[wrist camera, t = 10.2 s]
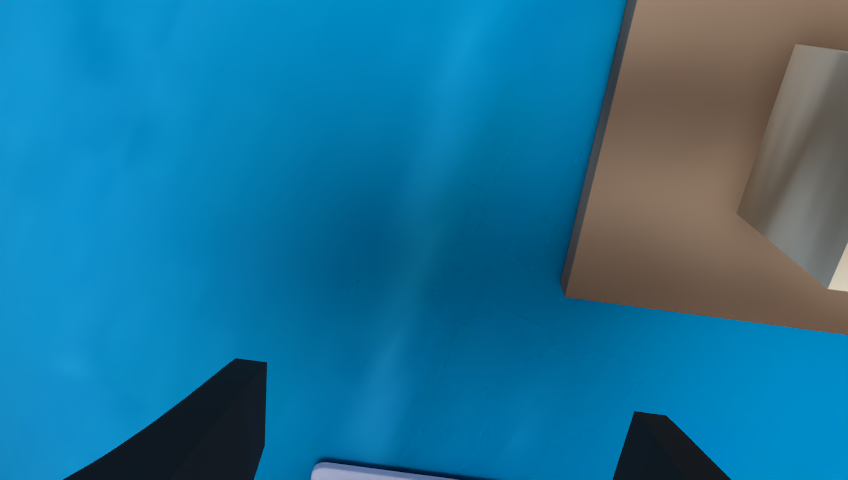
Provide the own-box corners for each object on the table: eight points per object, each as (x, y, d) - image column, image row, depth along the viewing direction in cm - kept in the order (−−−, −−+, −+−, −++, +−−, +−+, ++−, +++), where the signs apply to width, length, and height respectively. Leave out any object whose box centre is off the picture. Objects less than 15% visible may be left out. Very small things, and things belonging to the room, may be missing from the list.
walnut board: (963, 337, 21) (986, 353, 20) (560, 283, 21) (565, 297, 20) (1171, -45, 16) (1214, -47, 15) (654, -115, 16) (666, -121, 15)
